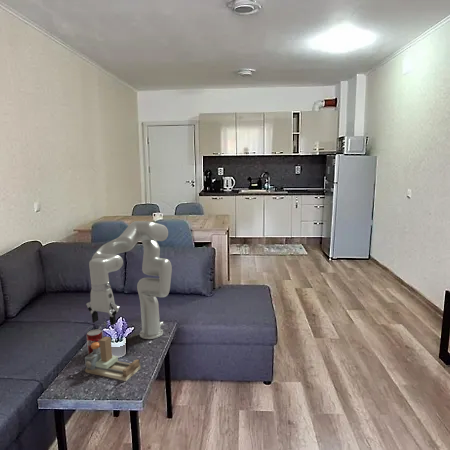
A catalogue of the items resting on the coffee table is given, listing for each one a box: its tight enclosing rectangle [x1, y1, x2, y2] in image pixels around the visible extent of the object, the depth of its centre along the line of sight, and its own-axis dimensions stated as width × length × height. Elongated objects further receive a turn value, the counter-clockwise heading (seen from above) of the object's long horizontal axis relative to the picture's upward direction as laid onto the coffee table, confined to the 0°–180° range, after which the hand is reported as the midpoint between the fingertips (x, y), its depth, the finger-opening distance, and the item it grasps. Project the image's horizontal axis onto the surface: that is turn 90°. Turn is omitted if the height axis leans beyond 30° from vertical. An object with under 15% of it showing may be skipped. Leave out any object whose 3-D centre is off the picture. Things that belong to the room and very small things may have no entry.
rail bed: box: [84, 347, 141, 382], centre depth 180 cm, size 11×22×7 cm, turn 68°
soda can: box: [86, 329, 104, 355], centre depth 194 cm, size 7×7×12 cm
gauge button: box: [91, 342, 99, 354], centre depth 183 cm, size 4×4×5 cm
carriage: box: [96, 336, 119, 369], centre depth 180 cm, size 8×6×12 cm
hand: (104, 322), depth 178 cm, fingers open, 9 cm apart
